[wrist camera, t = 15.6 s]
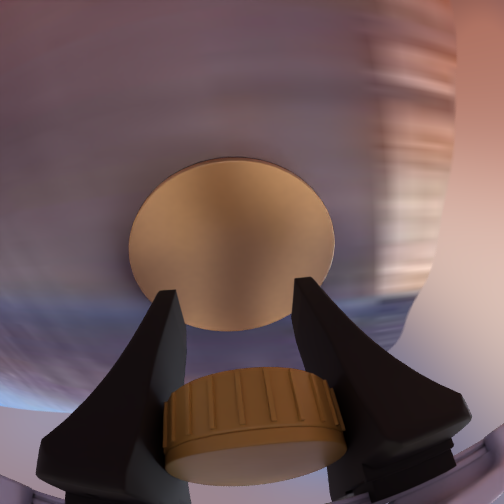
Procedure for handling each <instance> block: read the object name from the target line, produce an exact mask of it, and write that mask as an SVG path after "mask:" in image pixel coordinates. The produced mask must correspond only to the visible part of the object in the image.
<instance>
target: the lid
mask: <svg viewBox="0 0 504 504" xmlns="http://www.w3.org/2000/svg"><path fill="white" fill-rule="evenodd" d="M343 431H346V429H345V425H344V422H343V419H342V416H341V412H340V409H339V406H338V402H337V399H336V396H335V393H334V390H333V388H329V386H328V382H327V380H323V379H322V378H320V377H318V376H317V375H314V374H313V373H309V372H306V371H302V370H298V369H291V368H281V367H255V368H244V369H235V370H229V371H224V372H219V373H215V374H211V375H208V376H204V377H201V378H198V379H196V380H193V381H191V382H189V383H187V384H185V385H183V386H182V387H180V388H179V389H177V390H176V391H175V392H172V393H171V396H170V398H169V399H168V401H167V402H164V413H163V443H162V448H164V455H165V470H166V471H167V473H169V474H170V475H171V476H173V477H175V478H178V479H181V480H184V481H187V482H192V483H197V484H203V485H213V486H249V485H259V484H267V483H274V482H279V481H284V480H289V479H293V478H296V477H300V476H303V475H306V474H309V473H312V472H315V471H318V470H320V469H322V468H324V467H327V466H329V465H330V464H332V463H334V462H336V461H337V460H338V459H340V458H341V457H342V456H343V455H344V454H345V453H346V451H347V444H346V441H345V437H344V435H343Z"/></svg>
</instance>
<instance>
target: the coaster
mask: <svg viewBox="0 0 504 504" xmlns="http://www.w3.org/2000/svg"><path fill="white" fill-rule="evenodd" d="M334 246H335V239H334V230H333V225H332V221H331V218H330V216H329V213H328V211H327V209H326V207H325V206H324V204H323V202H322V201H321V199H320V198H319V196H318V195H317V194H316V193H315V192H314V190H313V189H312V188H311V187H310V186H309V185H308V184H307V183H306V182H304V181H303V180H302V179H301V178H300V177H298V176H297V175H295V174H293V173H292V172H290V171H289V170H287V169H284V168H282V167H280V166H278V165H275V164H272V163H269V162H266V161H262V160H257V159H251V158H236V157H228V158H219V159H212V160H208V161H204V162H200V163H197V164H194V165H192V166H189V167H187V168H184V169H182V170H180V171H179V172H177V173H175V174H173V175H172V176H170V177H168V178H167V179H166V180H165V181H163V182H162V183H161V184H160V185H158V186H157V187H156V188H155V189H154V190H153V192H152V193H151V194H150V195H149V196H148V197H147V199H146V200H145V201H144V203H143V204H142V206H141V207H140V209H139V211H138V213H137V216H136V218H135V220H134V222H133V225H132V229H131V232H130V238H129V260H130V265H131V269H132V272H133V275H134V277H135V280H136V282H137V283H138V285H139V287H140V289H141V290H142V292H143V293H144V294H145V296H146V297H147V298H148V299H149V300H150V301H151V302H153V300H154V298H155V296H156V294H157V293H158V292H159V291H160V290H173V289H176V292H177V296H178V300H179V303H180V307H181V311H182V314H183V318H184V322H185V324H188V325H190V326H193V327H197V328H201V329H207V330H213V331H240V330H248V329H253V328H258V327H261V326H264V325H268V324H271V323H273V322H275V321H278V320H280V319H282V318H284V317H286V316H288V315H289V314H291V313H292V303H293V290H294V278H301V277H310V276H311V277H312V278H313V279H314V280H315V281H316V282H317V283H318V285H319V286H321V285H322V283H323V281H324V279H325V278H326V276H327V274H328V271H329V269H330V266H331V263H332V259H333V255H334Z"/></svg>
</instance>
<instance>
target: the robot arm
mask: <svg viewBox="0 0 504 504" xmlns="http://www.w3.org/2000/svg"><path fill="white" fill-rule="evenodd" d="M291 319H292V324H293V329H294V334H295V338H296V343H297V346H298V349H299V352H300V355H301V358H302V361H303V364H304V367H305V370H306V372H309V373H313V374H314V375H317V376H318V377H320V378H322V379H323V380H327V382H328V386H329V388H333V390H334V393H335V396H336V399H337V402H338V406H339V409H340V412H341V416H342V419H343V422H344V425H345V429H346V431H343V435H344V437H345V441H346V444H347V451H346V453H345V454H344V455H343V456H342V457H341V458H340V459H338V460H337V461H336V462H334V463H332V464H330V465H329V466H327V472H328V481H329V490H330V496H331V500H332V502H330V503H326V504H386V503H388V502H389V503H388V504H491V503H492V502H494V501H495V500H496V499H497V498H498V497H499V496H500V495H501V494H502V493H504V424H502V425H501V426H500V427H498V428H496V429H495V430H494V431H492V432H491V433H490V434H488V435H487V436H486V437H485V438H484V439H483V440H481V441H479V442H478V443H476V444H474V445H473V446H471V447H469V448H467V449H466V450H464V451H462V452H460V453H458V454H457V455H454V456H453V454H452V452H451V448H452V447H453V446H454V444H453V441H452V439H451V437H453V436H454V435H455V434H456V433H458V432H459V431H460V430H461V429H463V428H464V427H465V426H466V425H467V424H468V423H469V422H470V421H471V418H472V415H471V413H470V410H469V408H468V406H467V404H466V402H465V400H464V398H463V397H462V395H461V394H460V393H458V392H455V391H453V390H451V389H449V388H447V387H444V386H442V385H440V384H438V383H436V382H434V381H432V380H430V379H429V378H427V377H425V376H423V375H421V374H419V373H418V372H416V371H415V370H413V369H411V368H410V367H408V366H407V365H405V364H404V363H402V362H401V361H399V360H398V359H396V358H395V357H393V356H392V355H391V354H389V353H388V352H387V351H385V350H384V349H383V348H382V347H380V346H379V345H378V344H377V343H375V342H374V341H373V340H372V339H371V338H370V337H368V336H367V335H366V334H365V333H364V332H363V331H362V330H361V329H360V328H359V327H358V326H356V325H355V324H354V323H353V322H352V321H351V320H350V319H349V318H348V317H347V316H346V315H345V313H344V312H343V311H342V310H341V309H340V308H339V307H338V306H337V305H336V304H335V303H334V302H333V301H332V300H331V298H330V297H329V296H328V295H327V294H326V293H325V292H324V290H323V289H322V288H321V287H320V286H319V285H318V283H317V282H316V281H315V280H314V279H313V278H312V277H311V276H310V277H301V278H294V290H293V303H292V315H291ZM186 353H187V347H186V325H185V322H184V318H183V314H182V311H181V307H180V303H179V300H178V296H177V292H176V289H173V290H160V291H159V292H158V293H157V294H156V296H155V298H154V300H153V302H152V304H151V306H150V308H149V310H148V311H147V313H146V315H145V317H144V319H143V320H142V322H141V324H140V326H139V327H138V329H137V331H136V332H135V334H134V336H133V337H132V339H131V341H130V342H129V344H128V345H127V347H126V348H125V350H124V351H123V353H122V355H121V356H120V357H119V359H118V360H117V362H116V363H115V365H114V366H113V367H112V369H111V370H110V371H109V373H108V374H107V375H106V377H105V378H104V379H103V380H102V381H101V383H100V384H99V385H98V386H97V387H96V389H95V390H94V391H93V392H92V393H91V394H90V396H89V397H88V398H87V399H86V400H85V401H84V402H83V403H82V404H81V405H80V406H79V407H78V408H77V409H76V410H75V411H74V412H73V413H72V414H71V415H70V416H69V417H68V418H67V419H66V420H65V421H64V422H62V423H61V424H60V425H59V426H57V427H56V428H55V429H54V430H53V431H51V432H50V433H49V434H48V435H47V436H45V437H44V438H43V439H42V440H41V445H40V449H39V454H38V461H37V468H36V475H37V477H38V478H39V479H41V480H43V481H45V482H46V483H48V484H50V485H52V486H55V487H57V488H59V489H61V490H63V491H66V494H65V500H64V499H61V498H57V497H54V496H51V495H47V494H44V493H41V492H38V491H35V490H32V489H31V488H30V487H28V486H26V485H23V484H21V483H19V482H17V481H14V480H12V479H9V478H7V477H5V476H2V475H0V504H191V500H190V494H189V487H188V482H187V481H184V480H181V479H178V478H175V477H173V476H171V475H170V474H169V473H167V471H166V470H165V455H164V448H162V443H163V413H164V402H167V401H168V399H169V398H170V396H171V393H172V392H175V391H176V390H177V389H179V388H180V387H182V386H183V385H184V377H185V365H186Z"/></svg>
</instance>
